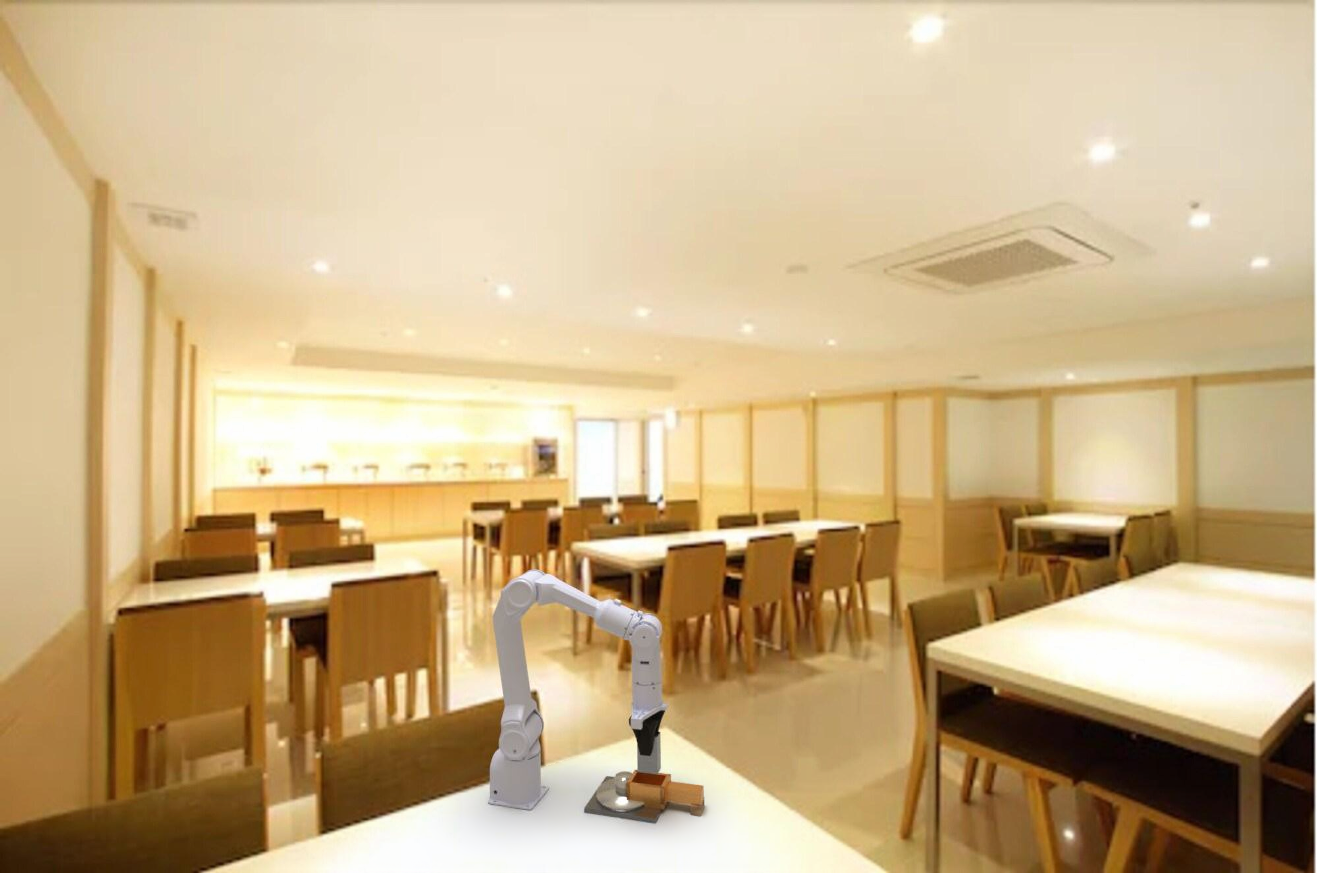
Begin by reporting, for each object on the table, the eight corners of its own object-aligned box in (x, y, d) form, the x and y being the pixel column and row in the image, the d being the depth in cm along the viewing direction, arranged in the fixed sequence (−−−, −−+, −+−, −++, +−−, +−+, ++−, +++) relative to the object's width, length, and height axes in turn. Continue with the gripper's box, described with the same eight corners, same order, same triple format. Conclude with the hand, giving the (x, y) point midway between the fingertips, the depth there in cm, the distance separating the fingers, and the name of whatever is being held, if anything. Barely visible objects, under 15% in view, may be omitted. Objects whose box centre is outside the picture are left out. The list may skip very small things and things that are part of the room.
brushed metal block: (637, 771, 118) (637, 734, 118) (641, 765, 120) (640, 729, 121) (657, 774, 117) (657, 737, 117) (660, 768, 119) (660, 731, 120)
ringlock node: (584, 812, 116) (584, 787, 116) (606, 779, 127) (606, 757, 128) (695, 829, 110) (695, 803, 110) (708, 793, 122) (708, 770, 122)
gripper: (656, 696, 111) (657, 772, 111) (675, 669, 125) (676, 736, 125) (619, 692, 113) (620, 767, 113) (642, 666, 127) (643, 732, 127)
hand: (647, 751), depth 119 cm, fingers closed on brushed metal block, 2 cm apart
